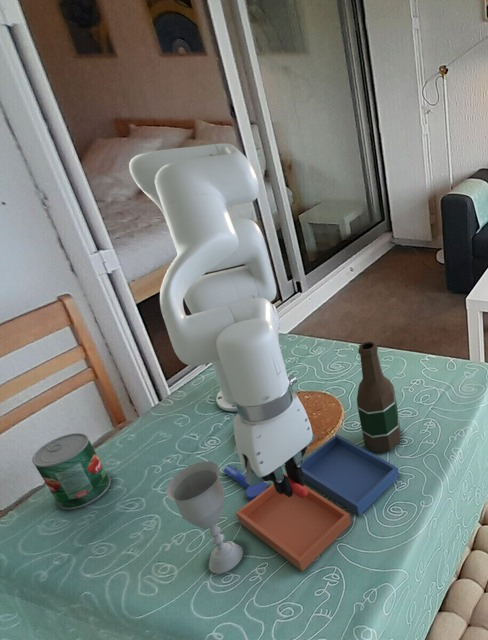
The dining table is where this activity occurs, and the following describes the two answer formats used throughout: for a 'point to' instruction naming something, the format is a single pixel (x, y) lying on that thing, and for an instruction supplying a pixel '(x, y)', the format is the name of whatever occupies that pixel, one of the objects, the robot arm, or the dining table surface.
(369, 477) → the blue tray
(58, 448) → the canned tomato
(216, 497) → the chalice
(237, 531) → the dining table surface
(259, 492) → the blue spoon
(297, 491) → the red spoon
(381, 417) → the beer bottle
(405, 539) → the dining table surface
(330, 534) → the terracotta tray
